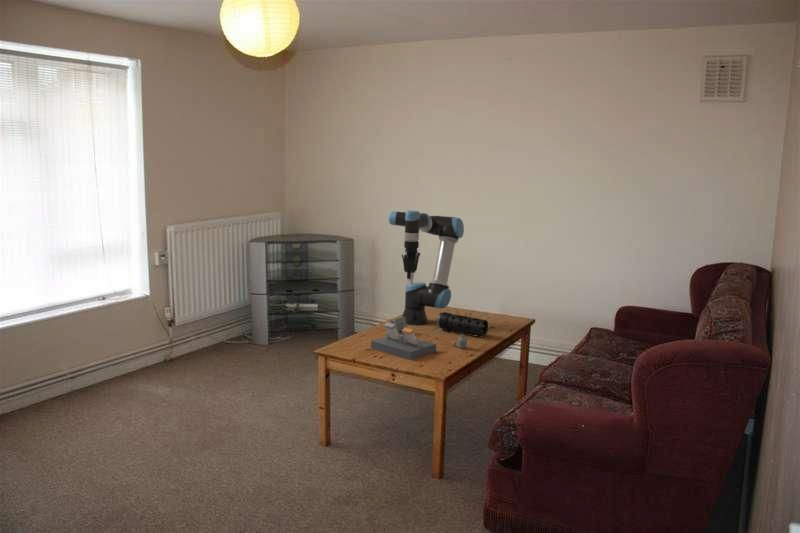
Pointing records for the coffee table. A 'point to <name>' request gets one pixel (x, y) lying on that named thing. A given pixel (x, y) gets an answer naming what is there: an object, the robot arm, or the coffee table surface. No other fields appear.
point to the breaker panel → (403, 347)
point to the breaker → (392, 331)
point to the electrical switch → (399, 324)
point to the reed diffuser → (462, 340)
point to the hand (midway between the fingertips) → (409, 284)
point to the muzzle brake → (462, 324)
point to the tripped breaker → (410, 336)
